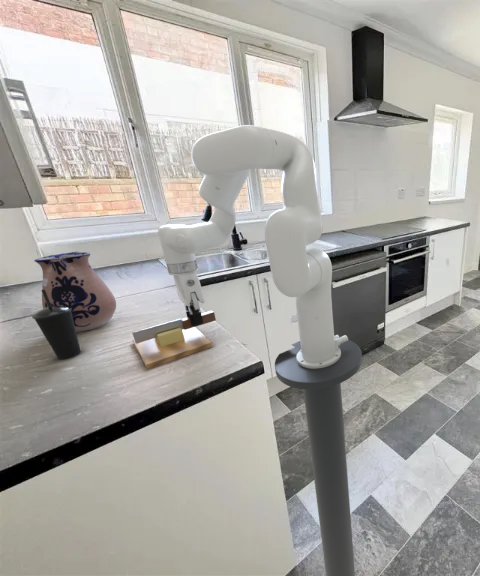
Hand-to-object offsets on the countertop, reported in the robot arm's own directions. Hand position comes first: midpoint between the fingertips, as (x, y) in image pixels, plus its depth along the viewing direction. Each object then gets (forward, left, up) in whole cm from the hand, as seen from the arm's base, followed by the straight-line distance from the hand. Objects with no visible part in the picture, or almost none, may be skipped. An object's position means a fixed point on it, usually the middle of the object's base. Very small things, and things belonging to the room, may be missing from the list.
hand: (195, 322), depth 97 cm
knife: (+5, 0, -1) cm, 5 cm away
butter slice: (+7, +2, -3) cm, 8 cm away
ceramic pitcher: (+23, -38, -5) cm, 45 cm away
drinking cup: (+29, -15, -5) cm, 34 cm away
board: (+7, +1, -5) cm, 9 cm away
